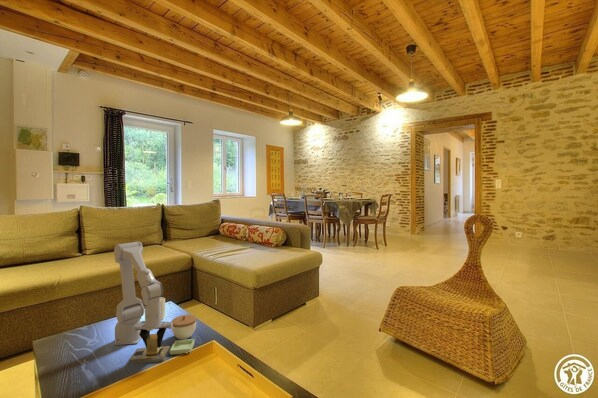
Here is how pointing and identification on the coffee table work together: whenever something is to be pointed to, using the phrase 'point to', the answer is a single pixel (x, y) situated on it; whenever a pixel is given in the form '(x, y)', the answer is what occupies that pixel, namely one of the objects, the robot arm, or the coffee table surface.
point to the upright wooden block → (152, 345)
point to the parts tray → (182, 346)
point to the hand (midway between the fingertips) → (153, 346)
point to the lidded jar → (184, 326)
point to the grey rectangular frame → (141, 356)
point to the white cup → (162, 307)
